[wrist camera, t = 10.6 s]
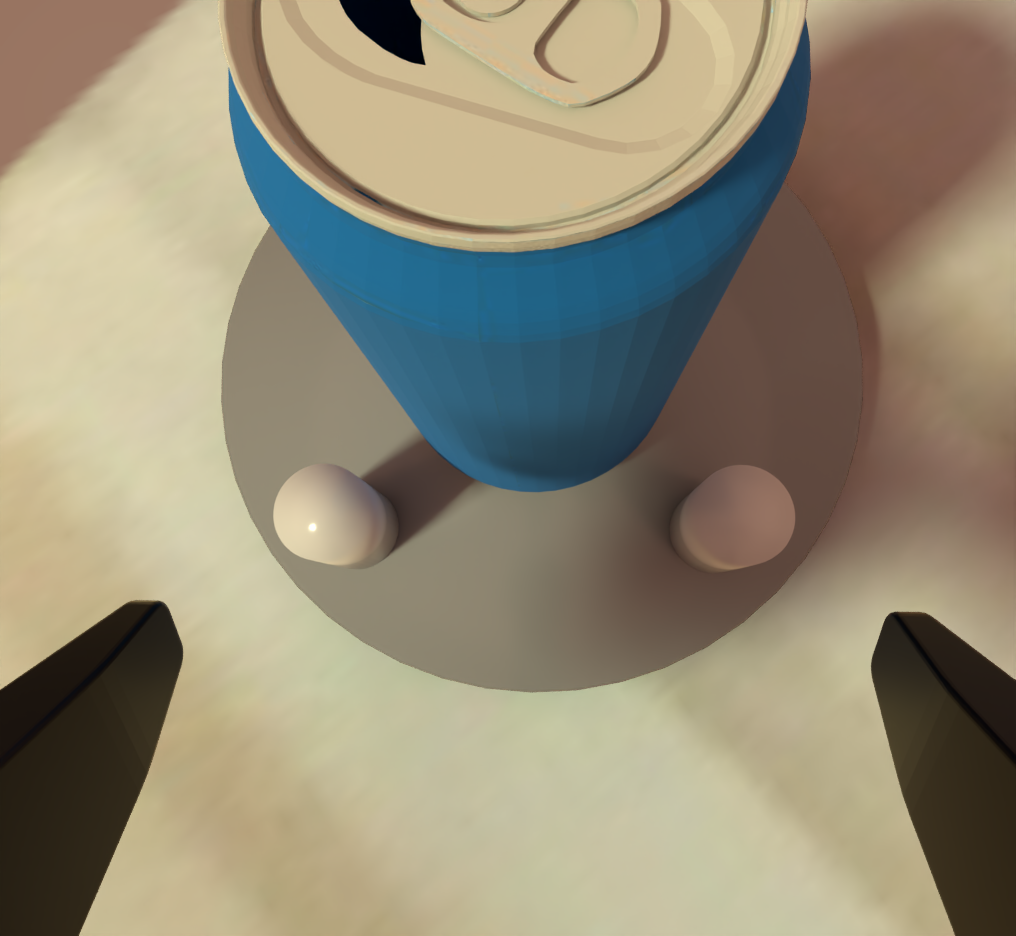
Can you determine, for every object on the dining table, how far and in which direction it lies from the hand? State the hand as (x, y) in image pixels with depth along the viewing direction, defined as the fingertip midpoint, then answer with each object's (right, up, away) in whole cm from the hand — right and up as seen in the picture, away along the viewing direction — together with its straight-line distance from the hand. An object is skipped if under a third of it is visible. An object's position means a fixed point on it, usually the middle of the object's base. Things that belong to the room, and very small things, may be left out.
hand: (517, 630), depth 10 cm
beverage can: (+1, +4, +10) cm, 11 cm away
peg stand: (+1, +4, +11) cm, 12 cm away
